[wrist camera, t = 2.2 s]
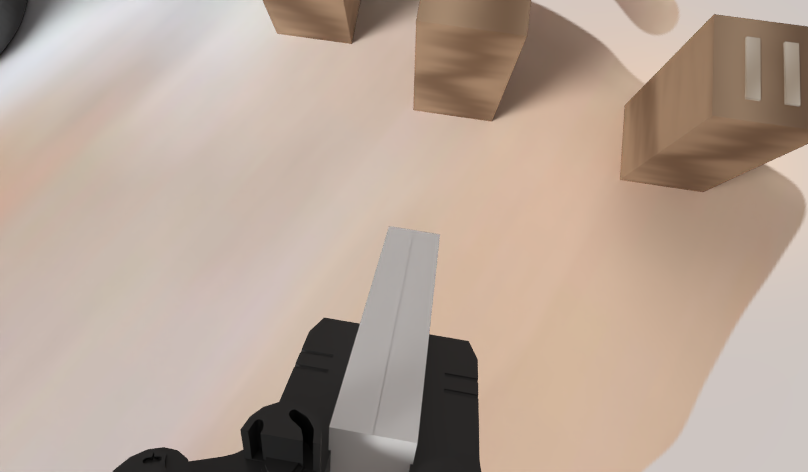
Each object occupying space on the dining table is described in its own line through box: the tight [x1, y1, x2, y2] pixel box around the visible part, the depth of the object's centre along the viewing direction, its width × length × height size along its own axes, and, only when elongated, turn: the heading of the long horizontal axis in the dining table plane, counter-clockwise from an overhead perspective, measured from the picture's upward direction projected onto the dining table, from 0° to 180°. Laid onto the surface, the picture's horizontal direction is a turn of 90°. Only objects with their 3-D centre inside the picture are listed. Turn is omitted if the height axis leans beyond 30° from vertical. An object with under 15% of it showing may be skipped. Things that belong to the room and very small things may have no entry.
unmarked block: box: [413, 0, 531, 121], centre depth 29 cm, size 6×6×10 cm
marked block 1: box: [620, 14, 808, 192], centre depth 28 cm, size 6×6×10 cm
